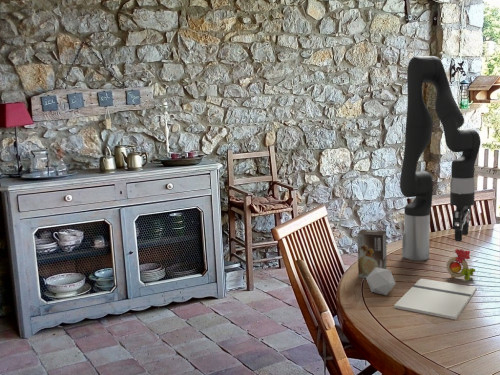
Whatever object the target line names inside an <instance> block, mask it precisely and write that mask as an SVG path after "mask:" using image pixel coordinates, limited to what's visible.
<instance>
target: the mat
mask: <svg viewBox="0 0 500 375" xmlns="http://www.w3.org/2000/svg"><path fill="white" fill-rule="evenodd" d="M477 288H478V287H476V286H470V285H464V284H458V283H453V282H446V281H440V280H433V279H427V278H420V279H419V280H417V281H416V282H415V284H413V285H412V287H411V288H410V289H408V290H407V291H406V293H405V294H404V295H402V297H401V298H399V300H398V301H397V302H396V303H395V304H394V305H393V308H395V309H399V310H404V311H408V312H409V311H410V312H414V313H419V314H424V315H425V314H426V315H430V316H436V317H439V318H446V319H452V320H457V318H458V317H459V316H460V314H461V313H462V311H463V310H464V308H466V306H467V304H468V303H469V301H470V300H471V298H472V297H473V295H474V294H475V292H476V291H477Z"/></svg>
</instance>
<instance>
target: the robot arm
mask: <svg viewBox="0 0 500 375" xmlns="http://www.w3.org/2000/svg"><path fill="white" fill-rule="evenodd" d="M406 73H407V74H406V75H407V76H406V78H407V79H406V82H407V83H406V84H407V85H406V86H407V108H406V119H405V120H406V121H405V133H404V134H405V136H404V138H405V139H404V149H403V150H404V152H403V160H402V165H401V170H400V172H401V173H400V177H399V178H400V179H399V188H400V192H401V194H402V196H403V197H406V198H413V197H414V199H413V200H412V201H411V202H409V203H408V204H406V205H405V206H404V213H403V214H404V215H403V216H404V217H403V219H404V220H403V221H404V222H403V223H404V224H403V225H404V226H403V227H404V229H403V233H402V235H401V236H402V237H401V238H402V239H401V240H402V242H401V244H402V246H401V247H402V249H401V253H402V255H401V256H402V258H403V259H407V260H410V261H420V262H421V261H426V260H428V259H430V233H431V232H430V228H431V227H430V225H431V224H430V222H431V221H430V220H431V216H430V215H431V209H432V205H433V191H434V190H433V189H434V181H433V177H432V175H431V174H430V173H429V172H428V171H426V170H422V171H421V170H420V171H417V167H418V163H419V161H420V158H421V156H422V154H423V153H424V151H425V150H426V149H427V146H428V145H429V143H430V142H431V139H432V136H433V134H432V133H433V117H432V115H431V113H430V110H429V108H428V106H427V104H426V103H425V100H424V96H423V84H427V83H430V84H432V85H433V86H434V88H435V89H436V98H435V104H434V107H435V113H436V115H437V117H438V118H439V121H440V124H441V125H442V127H443V128H442V130H443V133H444V140H445V145H446V147H447V148H448V149H449V151H451V152H453V153H461V155H460V157H458V158H456V159H453V161H451V171H450V172H451V175H450V177H451V178H450V187H449V188H450V189H449V191H450V193H449V195H450V196H449V203H450V205H452V206H455V207H456V208H455V210H453V211H452V230H453V231H454V241H455V242H462V241H463V236H468V235H469V225H470V222H471V220H472V219H471V214H472V212H471V211H472V210H471V207H473V206H474V205H475V192H476V191H475V189H476V188H475V186H476V184H475V165H476V161H477V157H478V154H479V150H480V148H481V137H480V134H479V133H478V131H476V130H474V129H463V130H462V129H461V130H459V129H460V128H461V127H462V126H463V125H464V124H465V118H464V115H463V113H462V112H461V110H460V107H459V106H458V104H457V103H456V102H457V101H455V100H456V99H455V97H454V95H453V93H452V89H451V86H450V83H449V79H448V77H447V73H446V71H445V66H444V64H443V62H442V60H441V59H440V58H439V57H438V56H434V55H423V56H421V55H420V56H413V57H412V58H411V59H410V60H409V62H408V65H407V72H406Z"/></svg>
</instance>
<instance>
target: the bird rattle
mask: <svg viewBox="0 0 500 375" xmlns="http://www.w3.org/2000/svg"><path fill="white" fill-rule="evenodd" d="M454 252H455V254H456V255H457V256H451V257H450V258H449V259H448V261H447V262H446V265H445V267H446V270H447V272H448V274H449V275H450V276H451V277H450V278H452V279H454V278H461V277H464V280H465V281H466V282H468V281H469V280H470V279H471V277H472V276H474V273H475V272H476V268H473V267H472V268H471V267H470V268H469V264H468V262H467V261H466V260H470V259H471V256H470V253H471V251H470V250H464V249H458V248H456V249H455V250H454Z"/></svg>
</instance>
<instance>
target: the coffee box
mask: <svg viewBox="0 0 500 375" xmlns="http://www.w3.org/2000/svg"><path fill="white" fill-rule="evenodd" d="M387 262H388V261H387V230H379V229H378V230H376V229H365V228H364V229H363V228H362V229H360V230H359V231H358V233H357V264H358V266H357V273H358V278H362V279H366V278H367V277H368V275H369V274H370V273H371V272H372V271H373V269H374V268H375V267H377V268H383V269H388V266H387V265H388V264H387Z"/></svg>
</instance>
